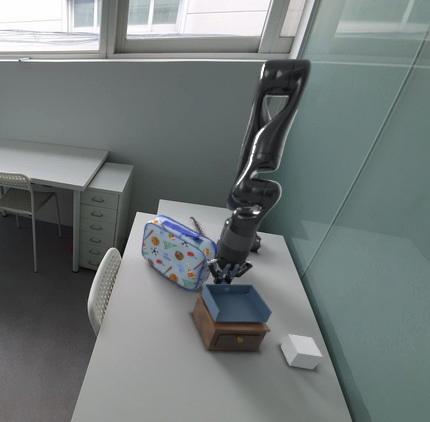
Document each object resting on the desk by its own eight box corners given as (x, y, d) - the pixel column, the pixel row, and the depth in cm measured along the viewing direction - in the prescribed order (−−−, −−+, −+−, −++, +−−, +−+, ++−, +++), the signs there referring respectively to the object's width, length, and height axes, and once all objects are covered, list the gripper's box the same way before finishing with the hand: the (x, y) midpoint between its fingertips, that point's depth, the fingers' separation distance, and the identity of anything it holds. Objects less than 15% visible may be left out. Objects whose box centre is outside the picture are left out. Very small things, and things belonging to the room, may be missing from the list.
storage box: (190, 313, 102) (197, 292, 96) (236, 314, 101) (246, 292, 96) (208, 354, 89) (217, 332, 84) (260, 354, 89) (272, 333, 83)
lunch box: (213, 286, 111) (230, 239, 100) (197, 300, 106) (213, 251, 95) (151, 249, 130) (160, 205, 118) (135, 259, 125) (142, 215, 113)
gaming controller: (235, 225, 136) (262, 228, 131) (234, 236, 139) (260, 239, 134) (232, 241, 126) (261, 245, 121) (231, 253, 129) (259, 258, 123)
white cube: (280, 346, 91) (288, 334, 87) (303, 350, 90) (311, 337, 86) (289, 365, 86) (297, 352, 82) (313, 369, 85) (323, 356, 81)
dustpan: (266, 322, 85) (272, 312, 83) (214, 322, 86) (218, 311, 83) (233, 272, 102) (236, 262, 100) (190, 271, 103) (192, 262, 101)
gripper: (254, 234, 90) (237, 277, 99) (207, 234, 91) (194, 276, 100) (268, 250, 84) (248, 294, 93) (218, 250, 84) (203, 294, 94)
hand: (220, 285), depth 96 cm, fingers closed on dustpan, 2 cm apart
